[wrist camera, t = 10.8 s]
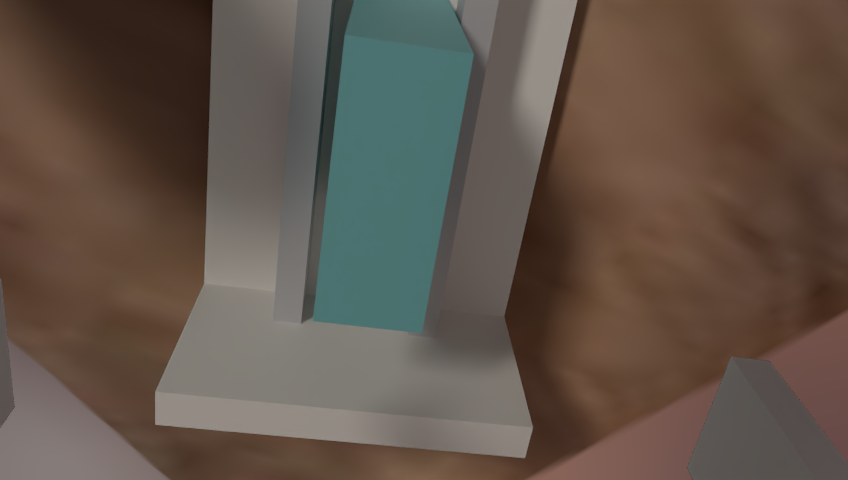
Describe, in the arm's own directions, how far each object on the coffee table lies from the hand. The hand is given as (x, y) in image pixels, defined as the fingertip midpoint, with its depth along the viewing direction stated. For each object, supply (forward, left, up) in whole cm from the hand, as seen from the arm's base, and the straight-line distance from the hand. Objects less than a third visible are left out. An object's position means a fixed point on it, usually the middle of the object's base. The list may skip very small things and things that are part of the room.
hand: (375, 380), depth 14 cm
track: (0, 0, -20) cm, 20 cm away
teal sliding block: (0, 0, -19) cm, 19 cm away
